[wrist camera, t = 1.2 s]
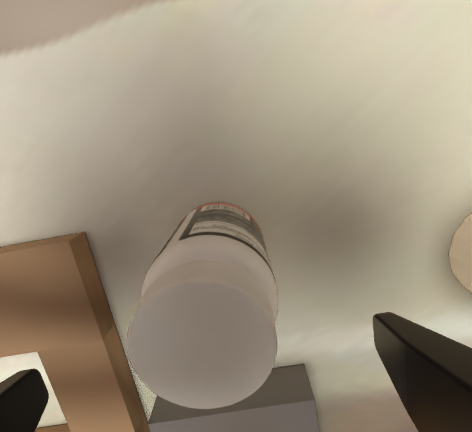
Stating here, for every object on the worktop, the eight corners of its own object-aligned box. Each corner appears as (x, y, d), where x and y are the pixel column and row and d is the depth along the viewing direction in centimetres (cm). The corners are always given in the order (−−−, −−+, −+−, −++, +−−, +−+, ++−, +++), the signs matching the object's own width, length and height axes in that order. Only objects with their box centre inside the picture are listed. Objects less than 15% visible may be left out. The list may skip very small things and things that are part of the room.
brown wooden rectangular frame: (165, 477, 20) (160, 504, 18) (-26, 503, 21) (-46, 531, 19) (84, 231, 15) (68, 241, 14) (-156, 275, 16) (-195, 288, 15)
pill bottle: (210, 298, 16) (185, 450, 8) (158, 234, 16) (72, 335, 7) (280, 253, 16) (326, 370, 8) (229, 183, 15) (220, 232, 7)
